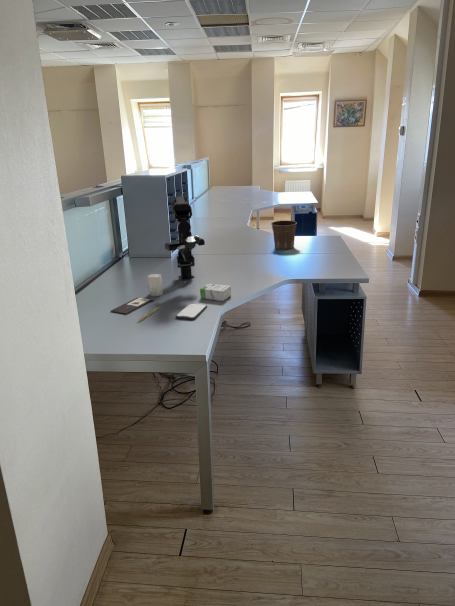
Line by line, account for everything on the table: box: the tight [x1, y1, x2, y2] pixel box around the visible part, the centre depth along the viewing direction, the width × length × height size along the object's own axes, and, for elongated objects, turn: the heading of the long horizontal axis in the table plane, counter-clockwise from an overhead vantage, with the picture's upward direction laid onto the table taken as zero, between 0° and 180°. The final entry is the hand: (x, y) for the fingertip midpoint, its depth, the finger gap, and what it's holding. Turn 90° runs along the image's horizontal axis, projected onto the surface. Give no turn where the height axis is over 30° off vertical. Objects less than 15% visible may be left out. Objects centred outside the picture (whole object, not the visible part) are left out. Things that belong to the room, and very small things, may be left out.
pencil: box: [136, 306, 162, 324], centre depth 188 cm, size 1×1×18 cm
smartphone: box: [175, 303, 208, 321], centre depth 189 cm, size 9×2×16 cm
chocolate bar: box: [110, 297, 153, 316], centre depth 199 cm, size 9×1×18 cm
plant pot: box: [270, 220, 298, 251], centre depth 284 cm, size 16×16×16 cm
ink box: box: [199, 283, 232, 302], centre depth 204 cm, size 8×5×12 cm
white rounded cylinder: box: [147, 273, 164, 297], centre depth 212 cm, size 6×6×9 cm
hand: (186, 261), depth 217 cm, fingers closed
